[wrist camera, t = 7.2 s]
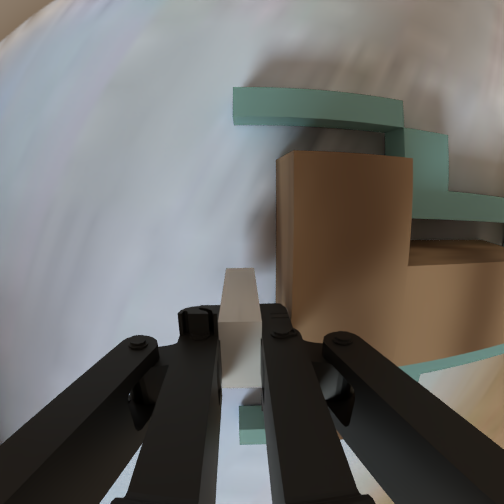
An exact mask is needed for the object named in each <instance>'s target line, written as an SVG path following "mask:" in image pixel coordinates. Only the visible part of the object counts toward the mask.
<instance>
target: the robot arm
mask: <svg viewBox="0 0 504 504" xmlns="http://www.w3.org/2000/svg"><path fill="white" fill-rule="evenodd" d="M178 322H179V331H180V337H179V339H178V342H177V343H176V344H173V345H168V346H161V347H158V343H157V340H156V339H154V338H153V337H150V336H143V335H138V336H137V335H136V336H132V337H130V338H127V339H125V340H123V341H122V342H121V343H119V344H118V345H117V346H116V347H115V348H114V349H112V350H111V351H110V352H109V353H108V354H106V355H105V356H104V357H103V358H102V359H100V360H99V361H98V362H97V363H96V364H95V365H93V366H92V367H91V368H90V369H89V370H87V371H86V372H85V373H84V374H83V375H82V376H80V377H79V378H78V379H77V380H76V381H74V382H73V383H72V384H71V385H70V386H69V387H67V388H66V389H65V390H64V391H63V392H62V393H60V394H59V395H58V396H57V397H56V398H55V399H53V400H52V401H51V402H50V403H49V404H48V405H46V406H45V407H44V408H43V409H42V410H41V411H39V412H38V413H37V414H36V415H35V416H34V417H32V418H31V419H30V420H29V421H28V422H27V423H26V424H24V425H23V426H22V427H21V428H20V429H19V430H17V431H16V432H15V433H14V434H13V435H12V436H11V437H9V438H8V439H7V440H6V441H5V442H4V443H3V444H1V445H0V504H99V503H100V502H101V500H102V499H103V498H104V496H105V495H106V494H107V492H108V491H109V489H110V488H111V487H112V485H113V484H114V482H115V481H116V480H117V478H118V477H119V475H120V474H121V473H122V471H123V470H124V468H125V467H126V466H127V464H128V463H129V461H130V460H131V459H132V457H133V456H134V454H135V453H136V452H137V450H138V449H139V447H140V446H141V444H142V443H143V444H142V447H141V450H140V453H139V456H138V459H137V462H136V465H135V469H134V472H133V475H132V478H131V481H130V485H129V488H128V491H127V493H126V496H125V497H124V498H115V499H114V500H112V501H111V503H110V504H215V500H216V482H217V466H218V450H219V434H220V420H221V405H222V388H262V406H261V411H263V414H264V425H265V435H266V445H267V455H268V464H269V474H270V484H271V494H272V504H375V502H374V500H373V498H372V497H371V496H370V495H368V494H366V495H361V494H360V493H359V491H358V489H357V487H356V484H355V481H354V478H353V475H352V473H351V470H350V467H349V464H348V461H347V459H346V456H345V453H344V450H343V447H342V445H341V442H340V439H339V436H338V433H339V434H340V435H341V437H342V438H343V439H344V440H345V442H346V443H347V444H348V446H349V447H350V448H351V449H352V451H353V452H354V453H355V455H356V456H357V457H358V458H359V460H360V461H361V462H362V463H363V465H364V466H365V467H366V468H367V470H368V471H369V472H370V474H371V475H372V476H373V477H374V479H375V480H376V481H377V482H378V483H379V485H380V486H381V487H382V488H383V490H384V491H385V492H386V493H387V495H388V496H389V497H390V498H391V499H392V501H393V502H394V503H395V504H504V449H502V448H501V447H500V446H499V445H497V444H496V443H495V442H493V441H492V440H491V439H490V438H488V437H487V436H486V435H484V434H483V433H482V432H481V431H479V430H478V429H477V428H476V427H474V426H473V425H472V424H470V423H469V422H468V421H467V420H465V419H464V418H463V417H461V416H460V415H459V414H458V413H456V412H455V411H454V410H453V409H451V408H450V407H449V406H447V405H446V404H445V403H444V402H442V401H441V400H440V399H438V398H437V397H436V396H435V395H433V394H432V393H431V392H429V391H428V390H427V389H426V388H424V387H423V386H422V385H421V384H419V383H418V382H417V381H415V380H414V379H413V378H412V377H410V376H409V375H408V374H406V373H405V372H404V371H403V370H401V369H400V368H399V367H398V366H396V365H395V364H394V363H392V362H391V361H390V360H389V359H387V358H386V357H385V356H383V355H382V354H381V353H380V352H378V351H377V350H376V349H375V348H373V347H372V346H371V345H369V344H368V343H367V342H366V341H364V340H363V339H362V338H360V337H359V336H357V335H356V334H353V333H350V332H347V331H344V332H343V331H338V332H332V333H329V334H327V335H326V336H324V339H323V343H315V342H309V341H305V340H303V338H302V336H301V333H300V332H299V331H298V330H297V329H295V328H293V326H292V323H291V320H290V318H289V314H288V312H287V309H286V307H285V306H283V305H282V304H280V303H272V304H259V299H258V292H257V285H256V279H255V272H254V268H226V273H225V279H224V286H223V292H222V299H221V305H201V306H196V307H189V308H185V309H183V310H181V311H180V312H179V313H178ZM221 383H222V387H221ZM129 393H130V395H129ZM336 430H337V431H338V433H337V431H336Z"/></svg>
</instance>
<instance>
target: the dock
mask: <svg viewBox="0 0 504 504" xmlns="http://www.w3.org/2000/svg"><path fill="white" fill-rule="evenodd" d="M233 121H234V125H284V126H309V127H326V128H340V129H352V130H363V131H372V132H381V133H385V155H386V156H396V157H406V158H413V198H412V218H417V219H443V220H465V221H483V222H500V223H504V197H496V196H488V195H480V194H471V193H462V192H453V191H448V176H449V157H448V135H444V134H439V133H434V132H428V131H422V130H416V129H410V128H404V114H403V101H401V100H396V99H390V98H383V97H377V96H370V95H362V94H354V93H346V92H336V91H326V90H313V89H297V88H273V87H233ZM503 247H504V245H503ZM500 354H504V344H500V345H497V346H493V347H489V348H485V349H482V350H478V351H474V352H469V353H465V354H461V355H456V356H452V357H447V358H443V359H438V360H433V361H428V362H422V363H417V364H411V365H405V366H399V368H400V369H401V370H403V371H404V372H405V373H406V374H408V375H409V376H410V377H412V378H413V379H414V380H415V381H417V382H418V381H419V377H420V374H423V373H428V372H432V371H437V370H442V369H446V368H451V367H455V366H459V365H463V364H467V363H471V362H475V361H479V360H483V359H486V358H490V357H493V356H497V355H500ZM239 436H240V445H252V444H266V435H265V425H264V414H263V411H261V406H239Z"/></svg>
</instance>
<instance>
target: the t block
mask: <svg viewBox="0 0 504 504" xmlns="http://www.w3.org/2000/svg"><path fill="white" fill-rule="evenodd" d="M412 198H413V158H406V157H396V156H386V155H374V154H361V153H346V152H328V151H301V150H293V151H291V152H290V153H288V154H286V155H284V156H282V157H281V158H279V159H277V160H276V303H280V304H282V305H283V306H285V307H286V309H287V312H288V314H289V318H290V320H291V323H292V326H293V328H295V329H297V330H298V331H299V332H300V333H301V336H302V338H303V340H305V341H309V342H315V343H323V339H324V336H326V335H327V334H329V333H332V332H338V331H343V332H344V331H347V332H350V333H353V334H356V335H357V336H359V337H360V338H362V339H363V340H364V341H366V342H367V343H368V344H369V345H371V346H372V347H373V348H375V349H376V350H377V351H378V352H380V353H381V354H382V355H383V356H385V357H386V358H387V359H389V360H390V361H391V362H392V363H394V364H395V365H396V366H398V367H399V366H405V365H411V364H417V363H422V362H428V361H433V360H438V359H443V358H447V357H452V356H456V355H461V354H465V353H469V352H474V351H478V350H482V349H485V348H489V347H493V346H497V345H500V344H504V247H502V246H499V245H496V244H493V243H490V242H487V241H484V240H410V237H411V221H412ZM336 431H337V430H336ZM337 433H338V431H337ZM338 436H339V439H343V438H342V437H341V435H340V434H339V433H338Z"/></svg>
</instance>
